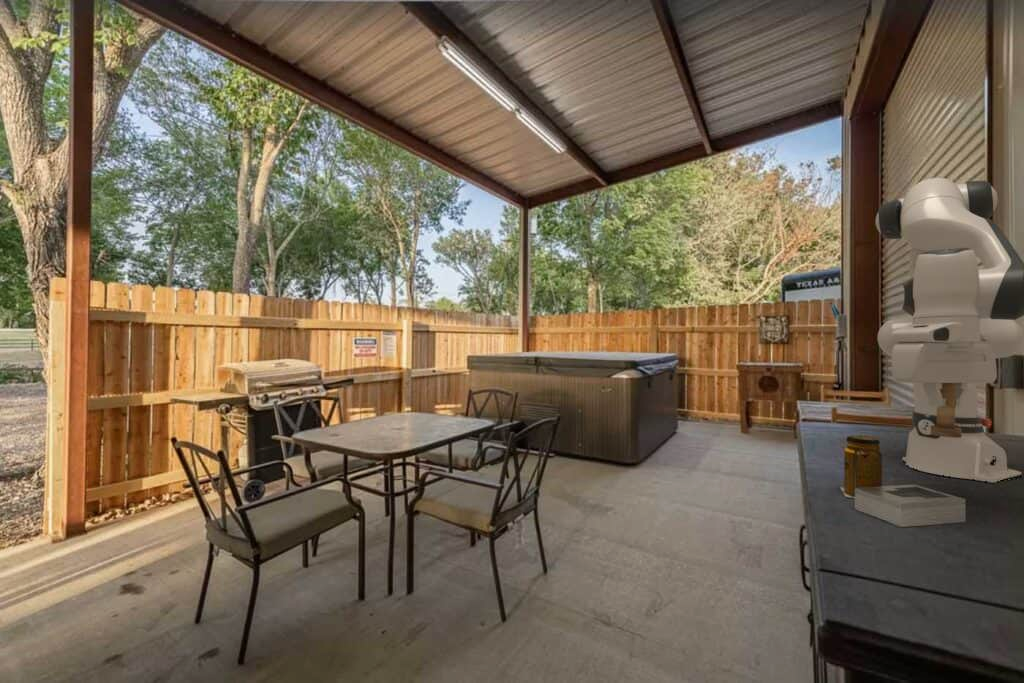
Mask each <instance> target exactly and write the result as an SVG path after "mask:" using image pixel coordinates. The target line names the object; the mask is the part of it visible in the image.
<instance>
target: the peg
mask: <svg viewBox="0 0 1024 683" xmlns="http://www.w3.org/2000/svg"><path fill="white" fill-rule="evenodd" d="M940 392H941V395H942V398H946V403H945V404H946V406H945V407H944V408H937V426H936V425H932V426H931V434H932V435H937V436H943V437H954V438H961V428H956V427H955V383H942V389H940Z"/></svg>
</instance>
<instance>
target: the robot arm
mask: <svg viewBox="0 0 1024 683" xmlns="http://www.w3.org/2000/svg"><path fill="white" fill-rule="evenodd" d="M998 201H999V200H998V192H997V191H996V189H995V188H994V187H993V186H992V185H991V182H988V181H987V180H972V181H971V180H970V181H966V182H965V183H959V184H956V183H955V182H954V181H952V180H951V179H948V178H945V177H932V178H928V179H927V178H926V179H924V180H921V181H920V182H917V183H915V184H914V185H913V186H912V187H910V188H909V190H908V191H907V193H906V194H905V195H904V197H901V198H900V199H897V198H896V199H895V198H894V199H892V200H891V201H887V202H885V203H883V204H882V205H881V206H880V207H879V208H878V212H877V214H876V216H875V226H876V229H877V231H878V233H880V235H881V237H882V238H885V239H887V240H898V239H899V240H900V239H902V238H903V239H904V241H906V243H907V244H909V245H910V249H909V259H908V261H909V262H908V272H909V280H907V281H905V283H903V284H902V288H903V305H902V308H901V310H903V311H904V312H905V313H907V314H908V315H910V316H906V317H900V318H899V317H898V318H895V319H890V320H889V319H888V320H887V321H886V322H884V323H883V325H882V326H880V328H879V329H878V330H879V331H878V332H877V343H878V347H879V348H880V349H881V351H883V353H885V354H886V355H887V356H889V357H891V373H892V377H893V378H894V380H895V382H897V383H898V382H900V383H911V384H912V387H913V388H912V389H913V394H914V395H913V396H914V397H913V398H914V411H913V412H912V414H911V415H912V416H911V422H912V423H911V425H912V426H914V427H913V429H912V430H911V431H909V433H908V438H907V448H906V456H902V459H901V460H904V461H905V462H906V463H905V462H904V463H905V466H907V465H908V466H909V467H908V466H907V467H908V468H911V469H913V468H914V469H913V470H916V469H917V471H920V472H924V473H927V474H928V473H929V474H933V475H938V476H943V475H944V476H945V477H949V476H950V477H951V478H958V479H965V480H966V479H967V480H973V479H974V480H975V481H981V482H985V481H987V482H986V483H998V482H997V481H999V482H1001V481H1000V480H1003V479H1006V478H1009V477H1013V476H1017V475H1020V474H1022V472H1021V471H1019V470H1016V469H1012V468H1008V466H1007V465H1008V462H1007V461H1008V460H1007V452H1006V451H1005V450H1004V448H1002V447H1001V446H1000V445H999V444H997V443H996V442H995V441H994V440H992V439H991V438H990V437H988V436H987V435H986V434H985V433H984V432H985V430H984V427H986V428H990V427H991V426H992V424H993V422H992V420H991V418H982V417H979V416H978V413H979V412H978V411H979V409H978V407H979V406H978V402H979V401H978V399H979V398H978V397H979V396H978V387H977V385H976V384H994V383H995V381H996V380H997V376H998V374H997V373H998V372H997V362H996V359H1003V358H1009V357H1012V356H1013V355H1014V354H1016V353H1017V352H1018V351H1019V350H1020V349H1021V347H1022V345H1023V342H1024V331H1023V329H1022V328H1021V326H1020V325H1019V323H1017V322H1016V320H1018V319H1020V318H1022V317H1024V261H1023V259H1021V257H1020V256H1019V254H1018V252H1017V251H1016V249H1015V248H1014V246H1013V245H1012V243H1011V242H1010V240H1009V239H1008V238H1007V236H1006V234H1005V233H1004V232H1003V230H1002V228H1000V226H999V225H998V224H997V223H996V222H995V221H994V220H992V219H990V218H991V217H992V216H993V214H994V211H995V210H996V208H997V204H998ZM977 258H978V259H979V260H980V262H981V264H982V266H983V267H984V268H983V269H982V268H981V269H979V265H978V260H977ZM942 383H955V427H956V428H961V438H954V437H943V436H937V435H932V434H931V426H932V425H936V426H937V408H944V407H945V406H946V404H945V403H946V398H942V395H941V392H940V389H942ZM1007 469H1008V470H1007ZM1022 475H1023V474H1022Z"/></svg>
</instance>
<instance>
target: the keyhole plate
mask: <svg viewBox="0 0 1024 683" xmlns="http://www.w3.org/2000/svg"><path fill="white" fill-rule="evenodd" d="M854 510H856V511H859V512H860V513H863V514H866V515H869V516H871V517H875V518H876V517H877V518H876V519H878V520H881V519H882V521H884V520H885V521H884V522H886V521H887V523H889V524H892V525H894V526H897V527H900V528H907V527H908V528H909V527H919V526H932V525H945V524H954V523H955V524H957V523H958V524H959V523H966V498H963V497H959V496H956V495H952V494H949V493H945V492H942V491H939V490H935V489H932V488H930V487H929V488H928V487H925V486H921V485H917V484H915V483H914V484H900V485H882V486H880V487H863V488H855V498H854Z"/></svg>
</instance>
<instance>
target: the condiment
mask: <svg viewBox="0 0 1024 683" xmlns="http://www.w3.org/2000/svg"><path fill="white" fill-rule="evenodd" d="M880 443H881V442H880V440H879V439H878V438H875V437H869V436H864V435H848V436H847V437H846V447H845V448H844V453H843V454H844V455H843V457H844V461H843V462H844V464H843V465H844V470H843V471H844V472H843V473H844V476H843V479H844V487H842V486H839V488H840V490H841V493H843V492H844V490H845V493H846V494H845V493H843V495H844V497H846V498H851V499H855V497H854V498H853V497H851V496H855V488H863V487H880V486H883V454H882V453H881V451H880V449H881V447H880ZM844 488H845V489H844ZM849 495H851V496H849Z"/></svg>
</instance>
